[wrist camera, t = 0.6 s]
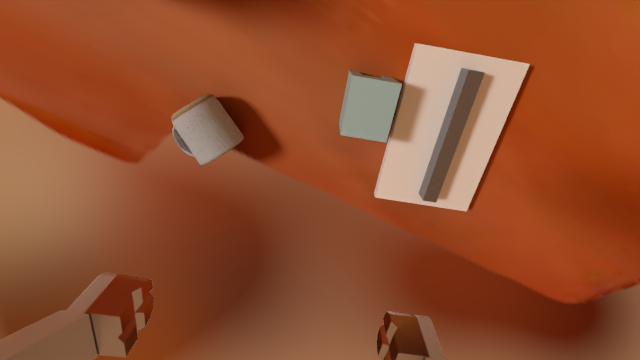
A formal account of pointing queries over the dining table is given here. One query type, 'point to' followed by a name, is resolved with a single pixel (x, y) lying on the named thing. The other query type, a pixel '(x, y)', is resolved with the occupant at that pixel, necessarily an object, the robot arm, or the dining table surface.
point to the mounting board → (427, 117)
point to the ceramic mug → (205, 129)
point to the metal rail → (450, 133)
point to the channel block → (368, 106)
